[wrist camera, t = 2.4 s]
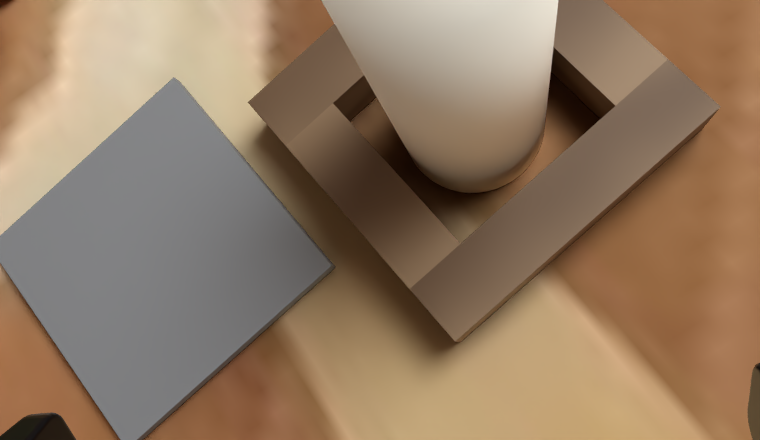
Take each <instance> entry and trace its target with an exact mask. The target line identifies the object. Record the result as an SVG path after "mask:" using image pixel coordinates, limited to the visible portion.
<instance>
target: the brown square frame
mask: <svg viewBox="0 0 760 440" xmlns="http://www.w3.org/2000/svg"><path fill="white" fill-rule="evenodd" d="M551 72H552V73H553V74H554V75H555V76H556V77H557V78H558V79H559V80H560V81H561V82H562V83H563V84H564V85H565V86H566V87H567V88H568V89H570V90H571V91H572V92H573V93H574V94H575V95H576V96H577V97H578V98H579V99H580V100H581V101H582V102H583V103H584V104H585V105H586V106H587V107H588V108H589V109H590V110H591V111H592V112H593V113H594V114H596V115H597V116H598V117H599V118H600V120H599V121H598V122H597V123H596V124H595V125H593V126H592V127H591V128H590V129H589V130H588V131H587V132H586V133H584V134H583V135H582V136H581V137H580V138H579V139H578V140H577V141H575V142H574V143H573V144H572V145H571V146H570V147H569V148H568V149H567V150H565V151H564V152H563V153H562V154H561V155H560V156H559V157H558V158H556V159H555V160H554V161H553V162H552V163H551V164H550V165H549V166H547V167H546V168H545V169H544V170H543V171H542V172H541V173H540V174H538V175H537V176H536V177H535V178H534V179H533V180H532V181H531V182H529V183H528V184H527V185H526V186H525V187H524V188H523V189H522V190H520V191H519V192H518V193H517V194H516V195H515V196H514V197H513V198H511V199H510V200H509V201H508V202H507V203H506V204H505V205H504V206H502V207H501V208H500V209H499V210H498V211H497V212H496V213H495V214H493V215H492V216H491V217H490V218H489V219H488V220H487V221H486V222H484V223H483V224H482V225H481V226H480V227H479V228H478V229H477V230H475V231H474V232H473V233H472V234H471V235H470V236H469V237H468V238H466V239H465V240H464V241H463V242H462V243H461V244H460V242H459V241H458V240H457V239H456V238H455V237H454V236H453V235H452V234H451V233H450V231H449V230H448V229H447V228H446V227H445V226H444V225H443V224H442V223H441V222H440V220H439V219H438V218H437V217H436V216H435V215H434V214H433V213H432V212H431V211H430V209H429V208H428V207H427V206H426V205H425V204H424V203H423V202H422V201H421V200H420V198H419V197H418V196H417V195H416V194H415V193H414V192H413V191H412V190H411V189H410V187H409V186H408V185H407V184H406V183H405V182H404V181H403V180H402V179H401V178H400V176H399V175H398V174H397V173H396V172H395V171H394V170H393V169H392V168H391V167H390V165H389V164H388V163H387V162H386V161H385V160H384V159H383V158H382V157H381V156H380V154H379V153H378V152H377V151H376V150H375V149H374V148H373V147H372V146H371V145H370V143H369V142H368V141H367V140H366V139H365V138H364V137H363V136H362V135H361V134H360V132H359V131H358V130H357V129H356V128H355V127H354V126H353V125H352V124H351V123H350V120H351V119H352V118H353V117H355V116H356V115H357V114H358V113H359V112H360V111H361V110H362V109H363V108H364V107H366V106H367V105H368V104H369V103H370V102H371V101H372V100H373V99H374V98H376V95H375V93H374V92H373V90H372V88H371V86H370V85H369V83H368V81H367V79H366V78H365V76H364V74H363V72H362V71H361V69H360V67H359V65H358V64H357V62H356V60H355V58H354V57H353V55H352V53H351V51H350V50H349V48H348V46H347V44H346V43H345V41H344V39H343V37H342V36H341V34H340V32H339V30H338V29H337V27H336V25H335V24H334V25H333V26H331V27H330V28H329V29H328V30H327V31H326V32H325V33H324V34H323V35H322V36H320V37H319V38H318V39H317V40H316V41H315V42H314V43H313V44H312V45H311V46H309V47H308V48H307V49H306V50H305V51H304V52H303V53H302V54H301V55H300V56H298V57H297V58H296V59H295V60H294V61H293V62H292V63H291V64H290V65H289V66H287V67H286V68H285V69H284V70H283V71H282V72H281V73H280V74H279V75H278V76H276V77H275V78H274V79H273V80H272V81H271V82H270V83H269V84H268V85H267V86H265V87H264V88H263V89H262V90H261V91H260V92H259V93H258V94H257V95H256V96H254V97H253V98H252V99H251V100H250V101H249V102H248V103H249V104H250V105H251V107H252V108H253V109H254V110H255V111H256V112H257V113H258V115H259V116H260V117H261V118H262V119H263V120H264V122H265V123H266V124H267V125H268V126H269V127H270V129H271V130H272V131H273V132H274V133H275V134H276V135H277V137H278V138H279V139H280V140H281V141H282V142H283V144H284V145H285V146H286V147H287V148H288V149H289V150H290V152H291V153H292V154H293V155H294V156H295V157H296V159H297V160H298V161H299V162H300V163H301V164H302V165H303V167H304V168H305V169H306V170H307V171H308V172H309V174H310V175H311V176H312V177H313V178H314V179H315V180H316V182H317V183H318V184H319V185H320V186H321V187H322V189H323V190H324V191H325V192H326V193H327V194H328V195H329V197H330V198H331V199H332V200H333V201H334V202H335V204H336V205H337V206H338V207H339V208H340V209H341V211H342V212H343V213H344V214H345V215H346V216H347V217H348V219H349V220H350V221H351V222H352V223H353V224H354V226H355V227H356V228H357V229H358V230H359V231H360V232H361V234H362V235H363V236H364V237H365V238H366V239H367V241H368V242H369V243H370V244H371V245H372V246H373V247H374V249H375V250H376V251H377V252H378V253H379V254H380V256H381V257H382V258H383V259H384V260H385V261H386V262H387V264H388V265H389V266H390V267H391V268H392V269H393V271H394V272H395V273H396V274H397V275H398V276H399V278H400V279H401V280H402V281H403V282H404V283H405V284H406V286H407V287H408V288H409V289H410V290H411V291H412V293H413V294H414V295H415V296H416V297H417V298H418V299H419V301H420V302H421V303H422V304H423V305H424V306H425V308H426V309H427V310H428V311H429V312H430V313H431V314H432V316H433V317H434V318H435V319H436V320H437V321H438V323H439V324H440V325H441V326H442V327H443V328H444V329H445V331H446V332H447V333H448V334H449V335H450V336H451V338H452V339H453V340H454V341H455V342H462V341H463V340H464V339H465V338H466V337H467V336H468V335H469V334H471V333H472V332H473V331H474V330H475V329H476V328H477V327H479V326H480V325H481V324H482V323H483V322H484V321H485V320H486V319H488V318H489V317H490V316H491V315H492V314H493V313H494V312H495V311H497V310H498V309H499V308H500V307H501V306H502V305H503V304H505V303H506V302H507V301H508V300H509V299H510V298H511V297H512V296H514V295H515V294H516V293H517V292H518V291H519V290H520V289H521V288H523V287H524V286H525V285H526V284H527V283H528V282H529V281H531V280H532V279H533V278H534V277H535V276H536V275H537V274H538V273H540V272H541V271H542V270H543V269H544V268H545V267H546V266H548V265H549V264H550V263H551V262H552V261H553V260H554V259H555V258H557V257H558V256H559V255H560V254H561V253H562V252H563V251H564V250H566V249H567V248H568V247H569V246H570V245H571V244H572V243H574V242H575V241H576V240H577V239H578V238H579V237H580V236H581V235H583V234H584V233H585V232H586V231H587V230H588V229H589V228H590V227H592V226H593V225H594V224H595V223H596V222H597V221H598V220H600V219H601V218H602V217H603V216H604V215H605V214H606V213H607V212H609V211H610V210H611V209H612V208H613V207H614V206H615V205H617V204H618V203H619V202H620V201H621V200H622V199H623V198H624V197H626V196H627V195H628V194H629V193H630V192H631V191H632V190H633V189H635V188H636V187H637V186H638V185H639V184H640V183H641V182H643V181H644V180H645V179H646V178H647V177H648V176H649V175H650V174H652V173H653V172H654V171H655V170H656V169H657V168H658V167H660V166H661V165H662V164H663V163H664V162H665V161H666V160H667V159H669V158H670V157H671V156H672V155H673V154H674V153H675V152H676V151H678V150H679V149H680V148H681V147H682V146H683V145H684V144H686V143H687V142H688V141H689V140H690V139H691V138H692V137H693V136H695V135H696V134H697V133H698V132H699V131H700V130H701V129H702V128H704V126H705V125H706V124H707V123H708V121H709V120H710V119H711V118H712V117H713V115H714V114H715V113H716V112H717V110H718V109H719V108H720V106H719V105H718V104H717V103H716V102H715V101H714V100H713V99H711V98H710V97H709V96H708V95H707V94H706V93H705V92H704V91H703V90H701V89H700V88H699V87H698V86H697V85H696V84H695V83H694V82H693V81H691V80H690V79H689V78H688V77H687V76H686V75H685V74H684V73H683V72H681V71H680V70H679V69H678V68H677V67H676V66H675V65H674V64H673V63H672V62H670V61H669V60H668V59H667V58H666V57H665V56H664V55H663V54H662V53H660V52H659V51H658V50H657V49H656V48H655V47H654V46H653V45H652V44H650V43H649V42H648V41H647V40H646V39H645V38H644V37H643V36H642V35H640V34H639V33H638V32H637V31H636V30H635V29H634V28H633V27H632V26H630V25H629V24H628V23H627V22H626V21H625V20H624V19H623V18H622V17H620V16H619V15H618V14H617V13H616V12H615V11H614V10H613V9H612V8H610V7H609V6H608V5H607V4H606V3H605V2H604V1H603V0H558V9H557V18H556V27H555V37H554V46H553V55H552V64H551Z"/></svg>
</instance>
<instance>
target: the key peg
mask: <svg viewBox="0 0 760 440" xmlns="http://www.w3.org/2000/svg"><path fill="white" fill-rule="evenodd" d="M321 1H322V2H323V4H324V6H325V8H326V9H327V11H328V13H329V15H330V16H331V18H332V20H333V22H334V23H335V25H336V27H337V29H338V30H339V32H340V34H341V36H342V37H343V39H344V41H345V43H346V44H347V46H348V48H349V50H350V51H351V53H352V55H353V57H354V58H355V60H356V62H357V64H358V65H359V67H360V69H361V71H362V72H363V74H364V76H365V78H366V79H367V81H368V83H369V85H370V86H371V88H372V90H373V92H374V93H375V95H376V97H377V99H378V100H379V102H380V104H381V106H382V107H383V109H384V111H385V113H386V114H387V116H388V118H389V120H390V121H391V123H392V125H393V127H394V128H395V130H396V132H397V134H398V135H399V137H400V139H401V140H402V142H403V144H404V146H405V147H406V149H407V151H408V153H409V154H410V156H411V158H412V160H413V161H414V163H415V165H416V166H417V167H418V168H419V170H420V171H421V172H422V173H423V174H424V175H425V176H426V177H428V178H429V179H430V180H432V181H433V182H435V183H436V184H438V185H440V186H442V187H445V188H447V189H450V190H454V191H458V192H465V193H479V192H486V191H490V190H494V189H497V188H499V187H502V186H504V185H506V184H508V183H510V182H511V181H513V180H514V179H516V178H517V177H518V176H520V175H521V174H522V173H523V172H524V171H525V170H526V169H527V168H528V167H529V165H530V164H531V163H532V161H533V160H534V158H535V157H536V155H537V153H538V151H539V149H540V146H541V144H542V140H543V136H544V129H545V120H546V111H547V101H548V92H549V83H550V74H551V64H552V55H553V46H554V37H555V27H556V18H557V9H558V0H321Z"/></svg>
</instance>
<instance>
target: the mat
mask: <svg viewBox="0 0 760 440" xmlns="http://www.w3.org/2000/svg"><path fill="white" fill-rule="evenodd" d="M0 263H1V265H2V266H3V267H4V269H5V270H6V272H7V273H8V275H9V276H10V278H11V279H12V281H13V282H14V284H15V285H16V287H17V288H18V290H19V291H20V292H21V294H22V295H23V297H24V298H25V300H26V301H27V303H28V304H29V306H30V307H31V309H32V310H33V312H34V313H35V315H36V316H37V317H38V319H39V320H40V322H41V323H42V325H43V326H44V328H45V329H46V331H47V332H48V334H49V335H50V337H51V338H52V340H53V341H54V342H55V344H56V345H57V347H58V348H59V350H60V351H61V353H62V354H63V356H64V357H65V359H66V360H67V362H68V363H69V365H70V366H71V367H72V369H73V370H74V372H75V373H76V375H77V376H78V378H79V379H80V381H81V382H82V384H83V385H84V387H85V388H86V390H87V391H88V392H89V394H90V395H91V397H92V398H93V400H94V401H95V403H96V404H97V406H98V407H99V409H100V410H101V412H102V413H103V415H104V416H105V417H106V419H107V420H108V422H109V423H110V425H111V426H112V428H113V429H114V431H115V432H116V434H117V435H118V437H119V438H120V440H143V439H144V438H145V437H146V436H147V435H148V434H150V433H151V432H152V431H153V430H154V429H155V428H156V427H157V426H159V425H160V424H161V423H162V422H163V421H164V420H165V419H166V418H167V417H169V416H170V415H171V414H172V413H173V412H174V411H175V410H176V409H178V408H179V407H180V406H181V405H182V404H183V403H184V402H185V401H186V400H188V399H189V398H190V397H191V396H192V395H193V394H194V393H195V392H197V391H198V390H199V389H200V388H201V387H202V386H203V385H204V384H205V383H207V382H208V381H209V380H210V379H211V378H212V377H213V376H214V375H216V374H217V373H218V372H219V371H220V370H221V369H222V368H223V367H224V366H226V365H227V364H228V363H229V362H230V361H231V360H232V359H233V358H235V357H236V356H237V355H238V354H239V353H240V352H241V351H242V350H243V349H245V348H246V347H247V346H248V345H249V344H250V343H251V342H252V341H254V340H255V339H256V338H257V337H258V336H259V335H260V334H261V333H262V332H264V331H265V330H266V329H267V328H268V327H269V326H270V325H271V324H273V323H274V322H275V321H276V320H277V319H278V318H279V317H280V316H281V315H283V314H284V313H285V312H286V311H287V310H288V309H289V308H290V307H292V306H293V305H294V304H295V303H296V302H297V301H298V300H299V299H300V298H302V297H303V296H304V295H305V294H306V293H307V292H308V291H309V290H311V289H312V288H313V287H314V286H315V285H316V284H317V283H318V282H320V281H321V280H322V279H323V278H324V277H325V276H326V275H327V274H328V273H330V272H331V271H332V270H333V269H334V268H335V266H334V265H333V264H332V262H331V261H330V260H329V259H328V258H327V256H326V255H325V254H324V253H323V252H322V250H321V249H320V248H319V247H318V246H317V244H316V243H315V242H314V241H313V240H312V239H311V237H310V236H309V235H308V234H307V233H306V231H305V230H304V229H303V228H302V227H301V225H300V224H299V223H298V222H297V221H296V219H295V218H294V217H293V216H292V215H291V214H290V212H289V211H288V210H287V209H286V208H285V206H284V205H283V204H282V203H281V202H280V200H279V199H278V198H277V197H276V196H275V194H274V193H273V192H272V191H271V190H270V188H269V187H268V186H267V185H266V184H265V183H264V181H263V180H262V179H261V178H260V177H259V175H258V174H257V173H256V172H255V171H254V169H253V168H252V167H251V166H250V165H249V163H248V162H247V161H246V160H245V159H244V158H243V156H242V155H241V154H240V153H239V152H238V150H237V149H236V148H235V147H234V146H233V144H232V143H231V142H230V141H229V140H228V138H227V137H226V136H225V135H224V134H223V132H222V131H221V130H220V129H219V128H218V127H217V125H216V124H215V123H214V122H213V121H212V119H211V118H210V117H209V116H208V115H207V113H206V112H205V111H204V110H203V109H202V107H201V106H200V105H199V104H198V103H197V102H196V100H195V99H194V98H193V97H192V96H191V94H190V93H189V92H188V91H187V90H186V88H185V87H184V86H183V85H182V84H181V82H179V81H178V80H177V79H175V78H173V79H171V80H170V81H169V82H168V83H167V84H166V85H165V86H164V87H163V88H162V89H160V90H159V91H158V92H157V93H156V94H155V95H154V96H153V97H152V98H151V99H150V100H148V101H147V102H146V103H145V104H144V105H143V106H142V107H141V108H140V109H139V110H137V111H136V112H135V113H134V114H133V115H132V116H131V117H130V118H129V119H128V120H127V121H125V122H124V123H123V124H122V125H121V126H120V127H119V128H118V129H117V130H116V131H114V132H113V133H112V134H111V135H110V136H109V137H108V138H107V139H106V140H105V141H104V142H102V143H101V144H100V145H99V146H98V147H97V148H96V149H95V150H94V151H93V152H91V153H90V154H89V155H88V156H87V157H86V158H85V159H84V160H83V161H82V162H81V163H79V164H78V165H77V166H76V167H75V168H74V169H73V170H72V171H71V172H70V173H69V174H67V175H66V176H65V177H64V178H63V179H62V180H61V181H60V182H59V183H58V184H56V185H55V186H54V187H53V188H52V189H51V190H50V191H49V192H48V193H47V194H46V195H44V196H43V197H42V198H41V199H40V200H39V201H38V202H37V203H36V204H35V205H33V206H32V207H31V208H30V209H29V210H28V211H27V212H26V213H25V214H24V215H23V216H21V217H20V218H19V219H18V220H17V221H16V222H15V223H14V224H13V225H12V226H10V227H9V228H8V229H7V230H6V231H5V232H4V233H3V234H2V235H1V236H0Z"/></svg>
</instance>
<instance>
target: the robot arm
mask: <svg viewBox="0 0 760 440" xmlns="http://www.w3.org/2000/svg"><path fill="white" fill-rule="evenodd" d="M748 423H749V428H750V432H751V435H752V438H753V440H760V363H758V364H756V365H755V367H754V369H753V372H752V379H751V387H750V395H749V403H748ZM0 440H76V439H75V437H74V436H73V434H72V432H71V431H70V429H69V428H68V426H67V424H66V423H65V421H64V420H63V418H62V417H61V416H60V415H58V414H56V413H41V414H31V415H28V416H26V417H24V418H22V419H21V420H20V421H19V422H17V423H16V424H15V425H14V426H12V427H11V428H10V429H9V430H7V431H6V432H5V433H4V434H2V435H1V436H0Z"/></svg>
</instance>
